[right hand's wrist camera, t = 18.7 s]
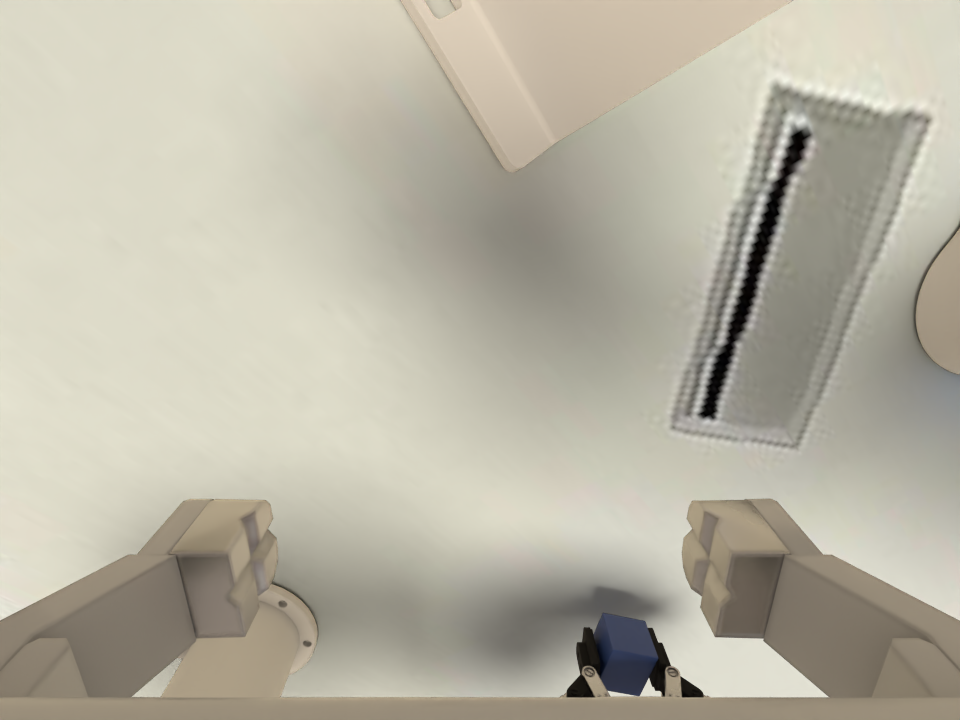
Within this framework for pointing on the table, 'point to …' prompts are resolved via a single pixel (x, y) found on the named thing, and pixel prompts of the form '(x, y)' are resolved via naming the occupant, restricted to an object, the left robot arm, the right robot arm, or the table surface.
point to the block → (624, 653)
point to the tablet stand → (568, 58)
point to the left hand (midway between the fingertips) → (616, 640)
